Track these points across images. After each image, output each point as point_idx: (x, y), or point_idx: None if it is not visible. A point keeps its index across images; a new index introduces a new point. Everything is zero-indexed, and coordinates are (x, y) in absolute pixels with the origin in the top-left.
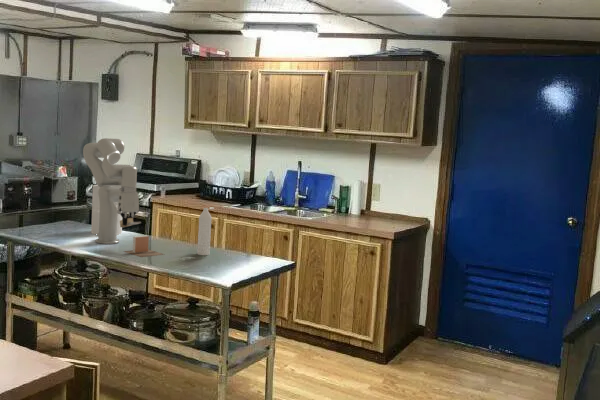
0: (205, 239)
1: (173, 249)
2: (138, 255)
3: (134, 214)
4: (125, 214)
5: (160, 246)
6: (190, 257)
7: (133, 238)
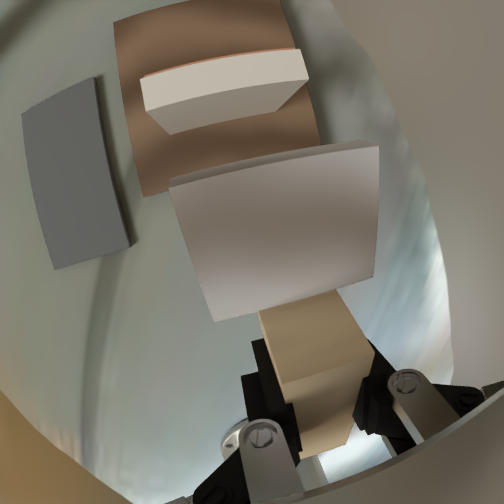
0: None
1: (4, 225)
2: (275, 24)
3: (221, 479)
4: (432, 408)
5: (45, 316)
6: (21, 32)
7: (302, 81)
